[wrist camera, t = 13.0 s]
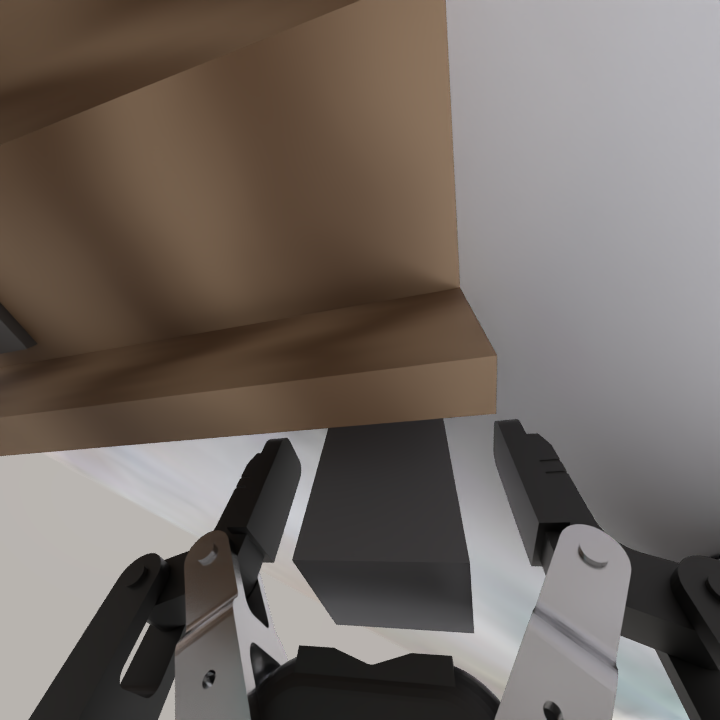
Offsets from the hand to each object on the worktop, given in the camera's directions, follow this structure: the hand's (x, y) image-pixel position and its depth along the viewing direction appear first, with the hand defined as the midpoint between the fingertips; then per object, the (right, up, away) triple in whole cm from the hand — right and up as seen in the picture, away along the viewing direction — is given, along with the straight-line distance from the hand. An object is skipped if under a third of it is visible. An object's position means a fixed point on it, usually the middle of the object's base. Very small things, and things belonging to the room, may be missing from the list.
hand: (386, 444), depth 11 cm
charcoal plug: (+1, +1, +2) cm, 2 cm away
